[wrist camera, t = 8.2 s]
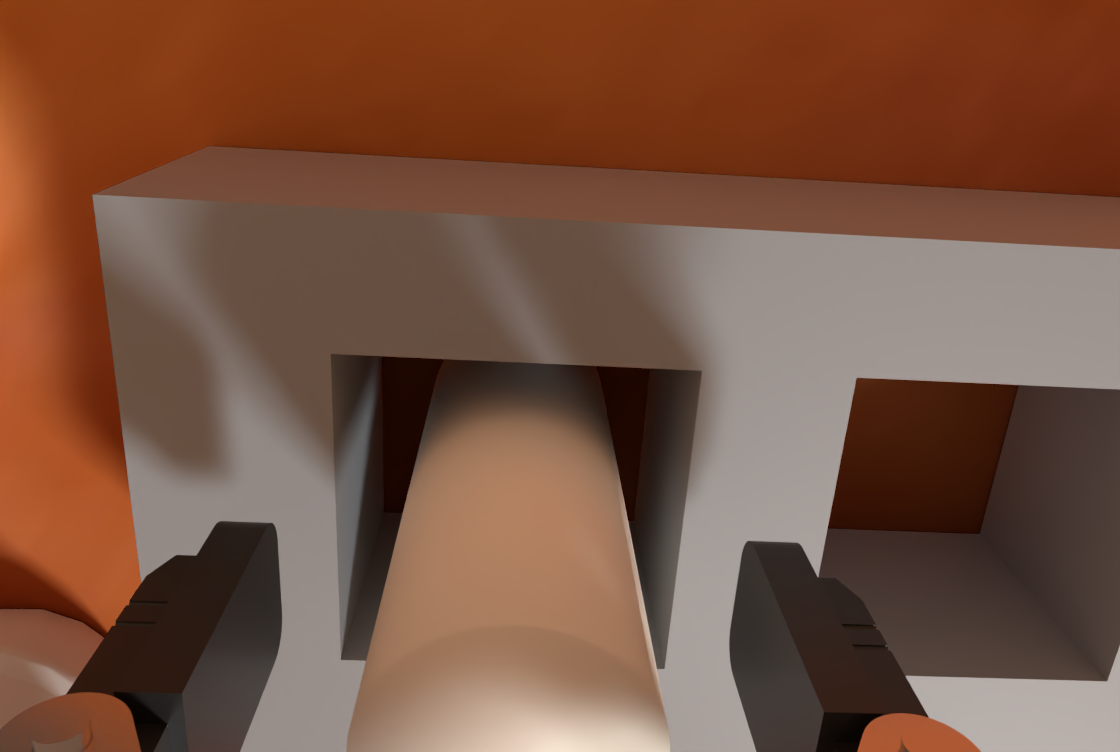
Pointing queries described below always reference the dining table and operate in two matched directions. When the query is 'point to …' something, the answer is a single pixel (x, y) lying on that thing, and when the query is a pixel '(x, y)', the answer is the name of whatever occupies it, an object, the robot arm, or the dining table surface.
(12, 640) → the bottle
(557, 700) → the dowel
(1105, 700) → the socket block
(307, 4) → the dining table surface
